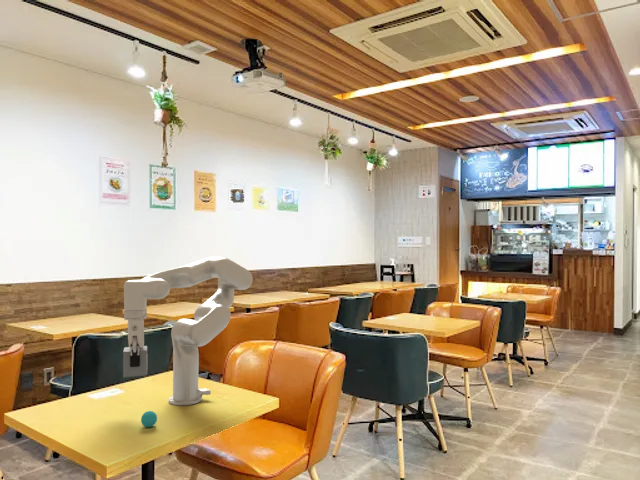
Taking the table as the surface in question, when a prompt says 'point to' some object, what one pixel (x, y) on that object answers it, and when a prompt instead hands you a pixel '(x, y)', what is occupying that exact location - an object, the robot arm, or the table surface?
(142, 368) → the grey tapered block
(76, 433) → the table surface
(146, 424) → the ball
